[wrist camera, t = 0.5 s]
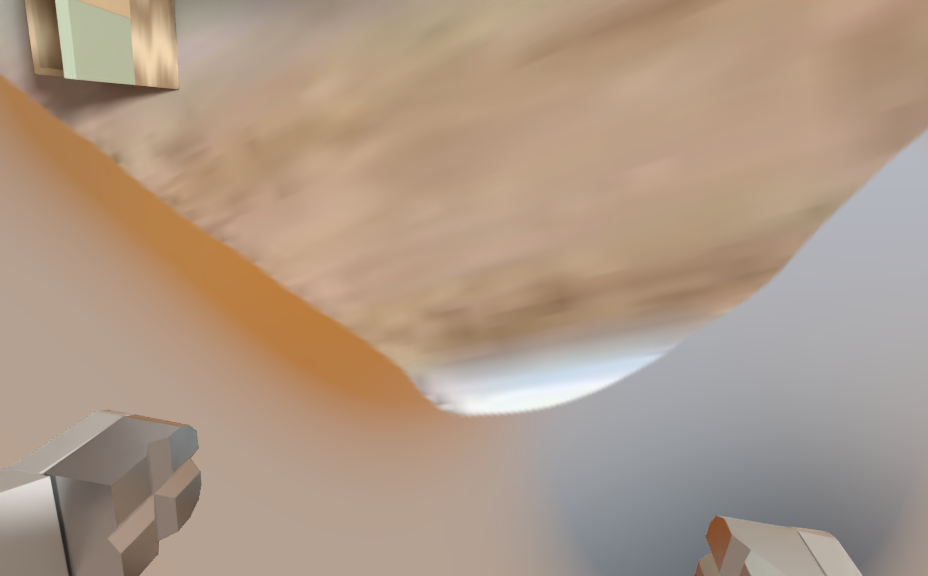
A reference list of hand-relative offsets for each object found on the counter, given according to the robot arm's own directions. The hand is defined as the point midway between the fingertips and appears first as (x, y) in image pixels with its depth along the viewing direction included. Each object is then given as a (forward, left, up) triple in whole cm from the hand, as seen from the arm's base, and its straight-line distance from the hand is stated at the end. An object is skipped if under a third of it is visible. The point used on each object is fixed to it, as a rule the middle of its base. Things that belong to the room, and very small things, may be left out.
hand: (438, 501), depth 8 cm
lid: (-12, -34, -33) cm, 49 cm away
